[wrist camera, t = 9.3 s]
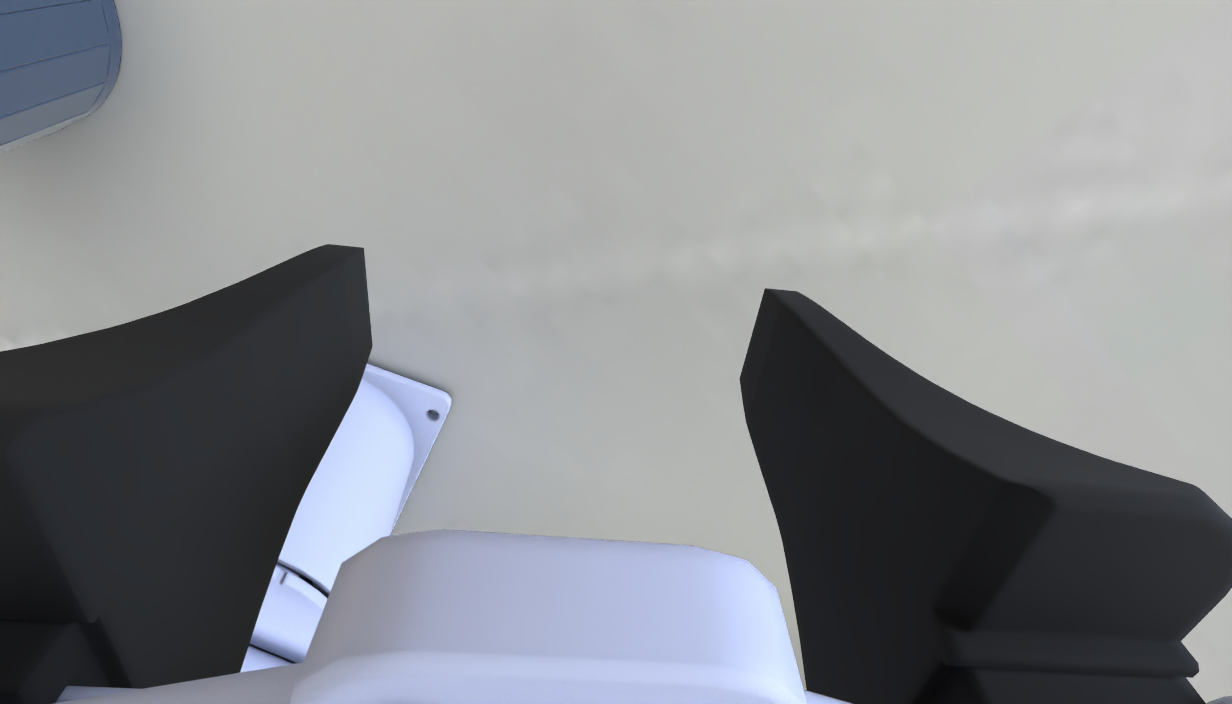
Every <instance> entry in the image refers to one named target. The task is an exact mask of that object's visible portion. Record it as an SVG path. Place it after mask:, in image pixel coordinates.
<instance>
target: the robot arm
mask: <svg viewBox="0 0 1232 704" xmlns="http://www.w3.org/2000/svg"><path fill="white" fill-rule="evenodd" d="M371 349H372V336H371V325H370V314H369V302H368V291H367V280H366V268H365V257H364V248H360V247H350V246H340V245H330V244H327V245H324V246H320V247H317V248H314V249H312V250H309V251H307V252H305V253H302V254H300V255H298V256H296V257H293V258H291V259H289V260H287V261H285V262H282V263H280V264H278V265H276V266H274V267H271V268H269V269H267V270H265V271H263V272H260V273H258V274H256V275H254V276H252V277H249V278H247V279H245V280H243V281H240V282H238V283H236V284H233V285H231V286H228V287H226V288H223V289H221V290H218V291H216V292H213V293H211V294H209V295H206V296H204V297H201V298H199V299H196V300H194V301H191V302H189V303H186V304H183V305H181V306H178V307H175V308H172V309H169V310H166V311H163V312H161V313H158V314H154V315H151V316H148V317H145V318H141V319H138V320H135V321H132V322H128V323H125V324H122V325H118V326H114V327H111V328H107V329H103V330H99V331H94V332H90V333H86V334H82V335H78V336H73V337H69V338H65V339H61V340H56V341H52V342H48V343H44V344H39V345H34V346H29V347H24V348H19V349H13V350H8V351H2V352H0V704H1206V703H1205V702H1204V701H1203V699H1202V698H1201V697H1200V695H1199V694H1198V693H1197V692H1196V690H1195V689H1194V688H1193V686H1192V685H1191V684H1190V682H1189V681H1188V680H1187V679H1186V677H1192V678H1193V677H1194V676H1195V675H1196V674H1197V673H1198V672H1199V666H1198V663H1197V661H1196V660H1195V659H1194V658H1193V656H1192V655H1191V654H1190V653H1189V651H1188V650H1187V649H1186V648H1185V646H1184V645H1183V644H1182V643H1181V640H1182V639H1183V638H1184V637H1185V636H1186V635H1187V634H1188V633H1189V632H1190V631H1191V630H1192V629H1193V628H1194V627H1195V626H1196V625H1197V624H1198V623H1199V622H1200V621H1201V620H1202V619H1203V618H1204V617H1205V616H1206V615H1207V614H1208V613H1209V612H1210V611H1211V610H1212V609H1213V608H1214V607H1215V606H1216V605H1217V604H1218V603H1219V602H1220V601H1221V600H1222V599H1223V598H1224V597H1225V596H1226V594H1227V593H1228V592H1229V591H1230V589H1231V588H1232V518H1231V517H1229V516H1228V515H1227V514H1226V513H1225V512H1224V511H1223V510H1222V509H1221V508H1220V507H1219V506H1218V505H1217V504H1216V503H1215V502H1214V501H1213V500H1212V499H1211V498H1210V497H1209V496H1208V495H1207V494H1206V493H1204V492H1203V491H1202V490H1201V489H1199V488H1198V487H1196V486H1194V485H1192V484H1189V483H1186V482H1182V481H1179V480H1176V479H1172V478H1169V477H1166V476H1162V475H1159V474H1155V473H1152V472H1149V471H1145V470H1142V469H1139V468H1135V467H1132V466H1128V465H1125V464H1122V463H1118V462H1115V461H1112V460H1109V459H1106V458H1103V457H1100V456H1097V455H1094V454H1091V453H1089V452H1086V451H1083V450H1080V449H1078V448H1075V447H1072V446H1069V445H1066V444H1064V443H1061V442H1058V441H1056V440H1053V439H1051V438H1048V437H1045V436H1043V435H1040V434H1038V433H1035V432H1033V431H1030V430H1028V429H1026V428H1023V427H1021V426H1019V425H1017V424H1014V423H1012V422H1010V421H1008V420H1005V419H1003V418H1001V417H999V416H997V415H994V414H992V413H990V412H988V411H986V410H984V409H982V408H979V407H977V406H975V405H973V404H971V403H969V402H967V401H965V400H964V399H962V398H960V397H958V396H956V395H954V394H952V393H951V392H949V391H947V390H945V389H943V388H941V387H940V386H938V385H936V384H934V383H932V382H931V381H929V380H927V379H926V378H924V377H922V376H920V375H919V374H917V373H916V372H914V371H913V370H911V369H909V368H908V367H906V366H905V365H903V364H902V363H900V362H899V361H897V360H895V359H894V358H892V357H891V356H889V355H888V354H886V353H885V352H884V351H882V350H881V349H879V348H878V347H876V346H875V345H873V344H872V343H871V342H869V341H868V340H866V339H865V338H864V337H862V336H861V335H859V334H858V333H857V332H855V331H854V330H853V329H851V328H850V327H848V326H847V325H846V324H844V323H843V322H842V321H840V320H839V319H838V318H836V317H835V316H834V315H832V314H831V313H829V312H828V311H827V310H825V309H824V308H823V307H821V306H820V305H818V304H817V303H815V302H814V301H812V300H811V299H809V298H808V297H806V296H804V295H803V294H801V293H799V292H796V291H786V290H776V289H766V288H765V290H764V294H763V297H762V301H761V304H760V308H759V312H758V315H757V319H756V322H755V326H754V329H753V333H752V337H751V340H750V344H749V347H748V351H747V354H746V358H745V362H744V365H743V369H742V372H741V376H740V384H741V392H742V399H743V406H744V412H745V418H746V423H747V426H748V430H749V433H750V436H751V440H752V443H753V446H754V449H755V453H756V456H757V459H758V462H759V465H760V468H761V472H762V475H763V478H764V481H765V484H766V487H767V490H768V493H769V497H770V500H771V503H772V506H773V509H774V512H775V515H776V519H777V522H778V526H779V530H780V534H781V537H782V542H783V547H784V552H785V557H786V562H787V568H788V573H789V578H790V583H791V589H792V595H793V601H794V607H795V613H796V619H797V625H798V631H799V637H800V644H801V651H802V659H803V666H804V673H805V680H806V688H807V691H806V690H803V686H802V683H801V679H800V675H799V671H798V668H797V664H796V660H795V656H794V653H793V649H792V645H791V641H790V638H789V634H788V630H787V626H786V623H785V619H784V615H783V612H782V608H781V604H780V600H779V597H778V593H777V589H776V588H775V587H774V586H773V585H772V584H771V583H770V582H769V581H768V580H767V579H766V578H765V577H764V576H763V575H762V574H761V573H760V572H759V571H758V570H757V569H756V568H755V567H754V566H753V565H752V564H750V563H749V562H748V561H747V560H745V559H742V558H738V557H735V556H731V555H727V554H723V553H719V552H715V551H712V550H708V549H704V548H700V547H696V546H692V545H680V544H664V543H649V542H633V541H618V540H602V539H586V538H571V537H555V536H540V535H524V534H509V533H493V532H477V531H462V530H446V529H442V530H433V531H425V532H416V533H408V534H399V535H391V536H390V534H391V532H392V530H393V528H394V526H395V524H396V522H397V520H398V518H399V515H400V513H401V511H402V509H403V507H404V505H405V503H406V501H407V499H408V496H409V494H410V492H411V490H412V488H413V486H414V484H415V482H416V480H417V478H418V475H419V473H420V471H421V469H422V467H423V465H424V463H425V461H426V459H427V456H428V454H429V452H430V450H431V448H432V446H433V444H434V442H435V440H436V437H437V435H438V433H439V431H440V429H441V427H442V425H443V423H444V421H445V418H446V416H447V414H448V412H449V410H450V407H451V402H452V400H451V397H450V396H449V395H448V394H447V393H445V392H444V391H441V390H439V389H436V388H433V387H430V386H428V385H425V384H422V383H419V382H417V381H414V380H411V379H408V378H406V377H403V376H400V375H397V374H395V373H392V372H389V371H386V370H384V369H381V368H378V367H375V366H373V365H370V364H367V362H368V358H369V355H370V352H371ZM429 410H435V411H436V412H438V413H439V414H436V415H435V414H431V413H430V412H429ZM1207 704H1232V696H1228V697H1222V698H1219V699H1216V700H1213V701H1210V702H1208V703H1207Z"/></svg>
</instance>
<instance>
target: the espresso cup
mask: <svg viewBox="0 0 1232 704" xmlns="http://www.w3.org/2000/svg"><path fill="white" fill-rule="evenodd" d="M120 60H121V35H120V25H119V21H118V16H117V12H116V8H115V5H114V2H113V0H0V154H1V153H4V152H6V151H9V150H11V149H14V148H16V147H19V146H21V145H24V144H26V143H29V142H31V141H34V140H36V139H39V138H41V137H44V136H46V135H49V134H51V133H53V132H56V131H58V130H61V129H63V128H65V127H66V126H68V125H70V124H72V123H75V122H77V121H79V120H81V119H83V118H85V117H87V116H88V115H89V114H91V113H92V112H93V111H95V110H96V109H97V108H98V107H99V106H100V105H101V104H102V103H103V101H104V100H105V99H106V98H107V96H108V94H109V93H110V91H111V89H112V88H113V85H114V83H115V80H116V77H117V75H118V70H119V65H120Z"/></svg>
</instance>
